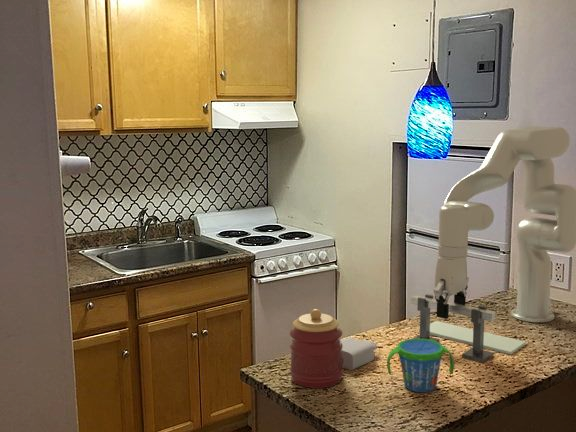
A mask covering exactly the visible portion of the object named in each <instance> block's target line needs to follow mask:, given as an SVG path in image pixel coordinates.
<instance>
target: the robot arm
mask: <svg viewBox="0 0 576 432" xmlns="http://www.w3.org/2000/svg"><path fill="white" fill-rule="evenodd" d="M570 137H571V136H570V134H569V132H568V131H567V130H566V129H565V128H563V127H561V126H521V127H516V128H514V129H505V130H503V131H501V132H500V133H499V134H498V135H497V137H496V138H495V140H494V141H493V144H492V145H491V147H490V149H489V151H488V153H487V154H486V155H485V157H484V160H483V161H482V163H481V165H480V167H478V169H476V170H474V171H473V172H470V173H469V174H467V176H465V177H463V178H462V179H460V180H459V181H458V182H457V183H455V184H454V186H453V187H452V188H451V189H450V191H449V192H448V195H447V196H446V198H445V199H444V201H443V203H442V206H441V207H440V208H439V215H438V253H437V255H438V257H437V261H436V268H435V276H434V289H433V293H434V299H436V303H437V309H436V317H437V318H441V319H445V320H447V319H449V313H450V312H449V304H447V302H449V299H450V296H454V297H453V303H456V304H461V305H466V302H467V300H466V298H467V297H466V296H467V295H468V294H467V290H468V286H469V285H468V283H469V277H468V262H467V259H468V249H469V248H468V245H469V243H468V242H469V231H470V232H471V231H472V232H473V231H474V232H475V231H476V232H480V231H484V230H486V229H488V228H490V227H491V226H492V224H493V223H494V218H495V214H494V210H493V209H492V208H491V206H489V205H488V204H486V203H482V202H476V201H474V202H473V201H469V200H470V199H472V198H474V197H475V196H477V195H479V194H481V193H485V192H490V191H492V190H496V189H497V188H501V187H503V186H504V185H506V184H507V183H508V182H509V179H510V178H511V176H512V174H513V173H514V170H515V168H516V167H517V165H518V163H519V162H520V161H521V163H522V164H523V170H524V172H523V173H524V175H523V176H524V177H523V178H524V179H523V180H524V181H523V183H524V184H523V207H524V209H525V210H526V211H528V212H529V213H533V214H540V215H545V216H547V215H548V216H555V217H556V219H551V218H544V217H535V216H534V217H533V216H532V217H531V216H530V217H526V218H523V219H522V220H520V222H519V223H518V225H517V227H516V239H517V244H518V245H517V246H518V275H517V295H516V296H517V297H516V301H517V302H516V308H513V309H512V310H511V316H512V317H513V318H515V319H517V320H520V321H523V322H528V323H529V322H530V323H548V322H551V321H553V320H555V314H554V312H552V311H550V305H551V304H552V302H551V299H550V297H551V283H552V281H551V278H552V260H551V257H550V255H549V253H548V252H549V251H550V252H556V253H563V254H565V253H570V252H572V251H573V250H574V248H575V247H576V188H575V187H573V186H572V185H568V184H564V183H563V184H561V183H560V184H559V183H556V182H555V165H554V162H553V161H552V159H555V158H559V157H561V156H563V155H564V154H565V153H566V152H567V151H568V149H569V146H570V143H571V142H570V141H571V138H570ZM444 296H445V297H444Z"/></svg>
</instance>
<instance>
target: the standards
mask: <svg viewBox="0 0 576 432" xmlns="http://www.w3.org/2000/svg"><path fill="white" fill-rule="evenodd" d="M424 297H427V298H432V299H434V295H432V294H425V295H424ZM477 308H481V309H485V310H488V306H486V305H482V304H479V305H477ZM431 309H432V308H428V307H426V299H425V298H420V297H419V298H418V305H417V309H416V310H417V311H419V312H420V313H419V329H420V332H419V335H417V336H415V337H413V338H412V339H428V340H433V341H436V342H438V343H440V338H438V337H432V336H431V335H430V324H431ZM470 323H473V324H472V325H473V345H472V347H471V348H470V349H467V350H466V351H464V352H462V354H461V358H463V359H467V360H471V361H474V362H478V363H482V364H484V363H486V362H487V361H489V360H490V359H492V358H493V357H494V355H495V354H494V353H495V352H492V351H488V350H484V348H483V342H484V332H485V320H483V319H480V310H478V309H471V317H470Z"/></svg>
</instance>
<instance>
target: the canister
mask: <svg viewBox="0 0 576 432" xmlns="http://www.w3.org/2000/svg"><path fill="white" fill-rule="evenodd" d="M292 326H293V327H292V328H291V329H290V330H289V336H290V337H291V342H290V344H289V348H290V368H289V371H290V372H289V374H290V378H291V380H292V381H293V383H295V384H297V385H299V386H301V387H304V388H309V389H310V388H311V389H321V388H328V387H329V388H330V387H331V386H335V385H337V384H339V383H340V382H341V380H342V378H343V374H344V373H343V370H344V368H343V367H342V347H343V345H342V343H341V341H342V340H341V338H342V336H343V330H342V329H341V328H340V327H339V326H340V322H339V320H337V319H336V318H334V317H333V316H332V315H330V314H326V313H322V312H321V310H320V309H318V308H313V309H312V310H311V312H310V313H305V314H302V315H300V316H299V317H298V318H296V319H295V320H293V322H292Z"/></svg>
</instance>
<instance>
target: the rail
mask: <svg viewBox="0 0 576 432" xmlns="http://www.w3.org/2000/svg"><path fill="white" fill-rule="evenodd" d="M419 297H420V298H425V299H426V307H428V308H431V309H433V310H437V303H436V299H435V298H433V299H432V298H427V297H425V296H422V295H417V294H416V295H414V294H413V295H412V296H411V297H410V304H411V305H414V306H418V298H419ZM447 304H449V313H451V314H457V315H460V316H466V317H468V318H471V309H478V310H480V319H483V320H484V321H487V322H493V321H495V320H496V318H497V311H493V310H490V309H487V310H485V309H481V308H478V307H476V306H475V307H474V306H471V305H466V304H465V305H461V304H456V303H454V302H451V301H448V302H447Z"/></svg>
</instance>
